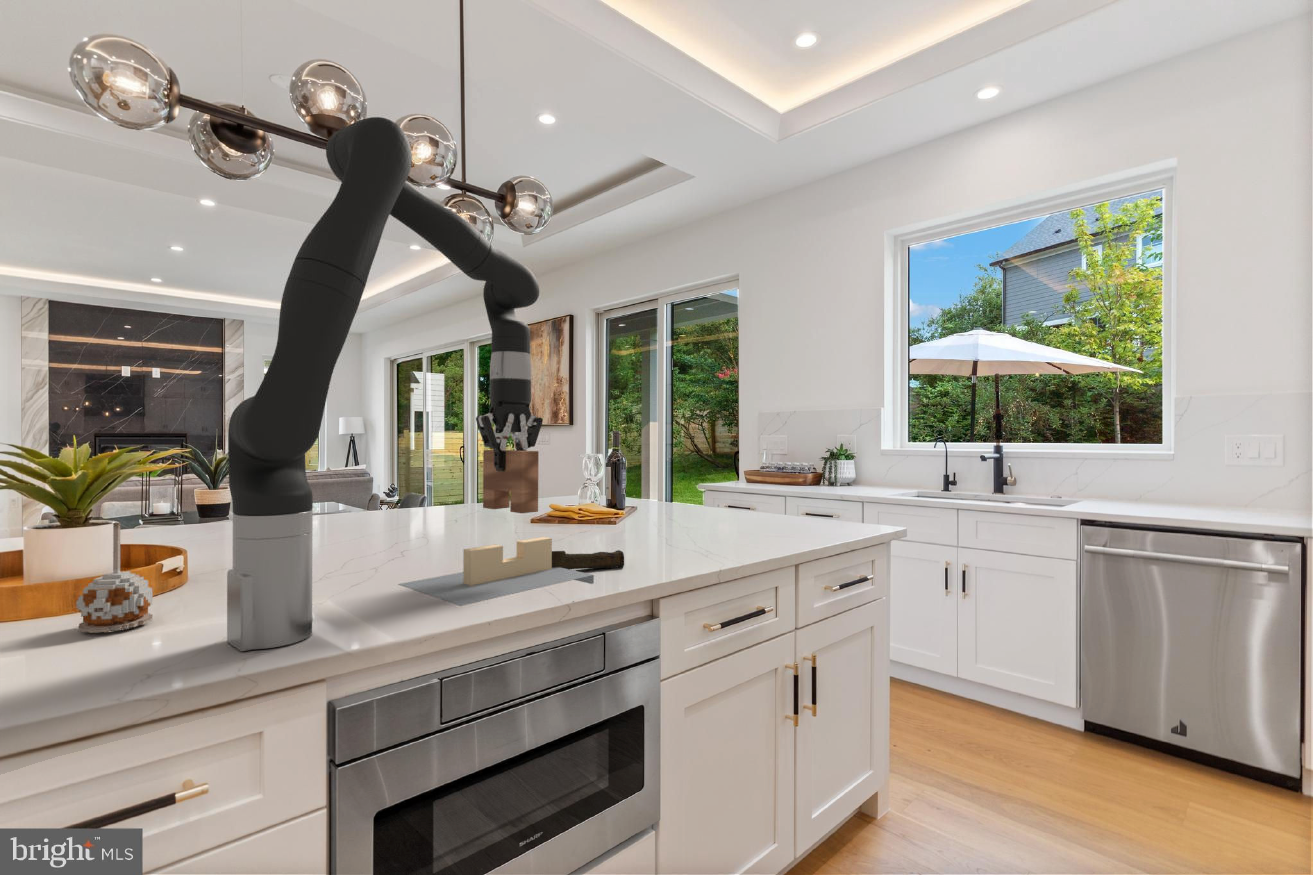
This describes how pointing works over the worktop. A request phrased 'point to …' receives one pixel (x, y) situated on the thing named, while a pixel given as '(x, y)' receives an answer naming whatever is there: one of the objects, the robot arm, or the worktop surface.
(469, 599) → the slotted plate stand
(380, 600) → the worktop surface
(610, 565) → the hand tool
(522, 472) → the mahogany slotted plate
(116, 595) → the decorative ornament
